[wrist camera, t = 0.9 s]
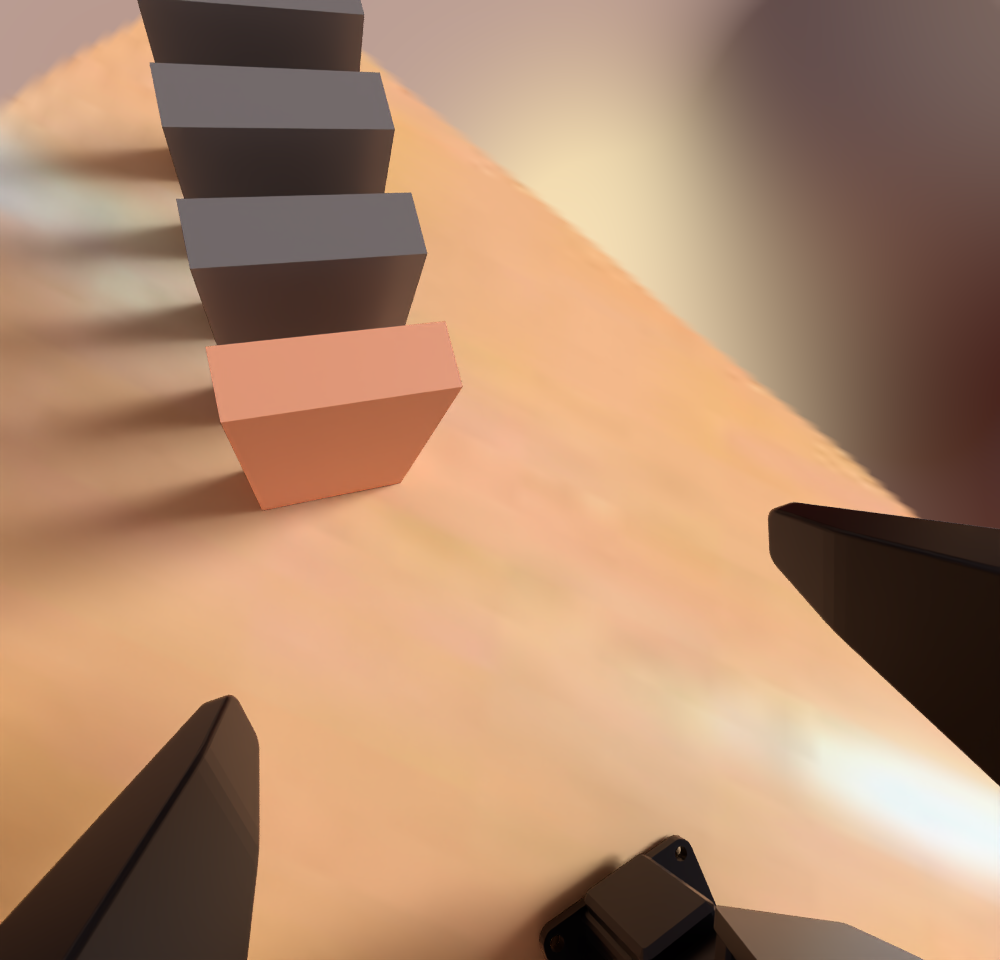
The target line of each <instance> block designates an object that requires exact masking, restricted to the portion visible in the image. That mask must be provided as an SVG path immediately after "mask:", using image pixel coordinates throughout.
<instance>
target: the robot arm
mask: <svg viewBox="0 0 1000 960" xmlns="http://www.w3.org/2000/svg"><path fill="white" fill-rule="evenodd" d="M768 531H769V551H770V555H771V558H772V560H773V562H774V564H775V565H776V566H777V568H778V569H779V570H780V571H781V572H782V573H783V574H784V575H785V577H786V578H787V579H788V580H789V581H790V582H791V583H792V585H793V586H794V587H795V588H796V589H797V590H798V591H799V593H800V594H801V595H802V596H803V597H804V598H805V599H806V601H807V602H808V603H809V604H810V605H811V606H812V607H813V609H814V610H815V611H816V612H817V613H818V614H819V615H820V617H821V618H822V619H823V620H824V621H825V622H826V623H827V624H828V625H829V626H830V627H831V628H832V630H833V631H834V632H835V633H836V634H837V635H838V636H840V637H841V638H842V639H843V640H844V641H845V642H846V643H847V644H848V645H849V646H850V647H851V648H852V649H853V650H854V651H855V652H856V653H857V654H859V655H860V656H861V657H862V658H863V659H864V660H865V661H866V662H867V663H868V664H869V665H870V666H871V667H872V668H873V669H875V670H876V671H877V672H878V673H879V674H880V675H881V676H882V677H883V678H884V679H885V680H886V681H887V682H888V683H890V684H891V685H892V686H893V687H894V688H895V689H896V690H897V691H898V692H899V693H900V694H901V695H902V696H903V697H905V698H906V699H907V700H908V701H909V702H910V703H911V704H912V705H913V706H914V707H915V708H916V709H917V710H918V711H920V712H921V713H922V714H923V715H924V716H925V717H926V718H927V719H928V720H929V721H930V722H931V723H932V724H933V725H935V726H936V727H937V728H938V729H939V730H940V731H941V732H942V733H943V734H944V735H945V736H946V737H947V738H948V739H950V740H951V741H952V742H953V743H954V744H955V745H956V746H957V747H958V748H959V749H960V750H961V751H962V752H963V753H965V754H966V755H967V756H968V757H969V758H970V759H971V760H972V761H973V762H974V763H975V764H976V765H977V766H978V767H980V768H981V769H982V770H983V771H984V772H985V773H986V774H987V775H988V776H989V777H990V778H991V779H992V780H993V781H994V782H996V783H997V784H998V785H999V786H1000V529H995V528H988V527H980V526H972V525H964V524H957V523H949V522H941V521H934V520H926V519H919V518H911V517H903V516H896V515H888V514H880V513H873V512H865V511H857V510H850V509H842V508H834V507H827V506H819V505H811V504H804V503H796V502H793V503H788V504H785V505H783V506H780V507H777V508H774V509H772V510H771V511H770V513H769V515H768ZM679 846H680V848H681V852H680V854H679V856H678V857H676V856H675V852H676V849H677V848H678V847H679ZM258 855H259V743H258V739H257V736H256V733H255V731H254V729H253V727H252V725H251V723H250V722H249V720H248V718H247V716H246V714H245V712H244V710H243V708H242V707H241V705H240V703H239V701H238V700H237V699H236V698H235V697H234V696H232V695H226V696H223V697H220V698H218V699H215V700H212V701H209V702H206V703H204V704H203V705H202V706H201V707H200V708H199V709H198V710H197V711H196V712H195V713H194V714H193V715H192V716H191V717H190V719H189V720H188V721H187V722H186V723H185V724H184V725H183V726H182V727H181V728H180V729H179V730H178V732H177V733H176V734H175V735H174V736H173V737H172V738H171V739H170V740H169V741H168V742H167V744H166V745H165V746H164V747H163V748H162V749H161V750H160V751H159V752H158V753H157V754H156V756H155V757H154V758H153V759H152V760H151V761H150V762H149V763H148V764H147V765H146V766H145V767H144V769H143V770H142V771H141V772H140V773H139V774H138V775H137V776H136V777H135V778H134V779H133V781H132V782H131V783H130V784H129V785H128V786H127V787H126V788H125V789H124V790H123V791H122V792H121V794H120V795H119V796H118V797H117V798H116V799H115V800H114V801H113V802H112V803H111V804H110V806H109V807H108V808H107V809H106V810H105V811H104V812H103V813H102V814H101V815H100V816H99V817H98V819H97V820H96V821H95V822H94V823H93V824H92V825H91V826H90V827H89V828H88V829H87V831H86V832H85V833H84V834H83V835H82V836H81V837H80V838H79V839H78V840H77V841H76V843H75V844H74V845H73V846H72V847H71V848H70V849H69V850H68V851H67V852H66V853H65V854H64V856H63V857H62V858H61V859H60V860H59V861H58V862H57V863H56V864H55V865H54V866H53V868H52V869H51V870H50V871H49V872H48V873H47V874H46V875H45V876H44V877H43V878H42V879H41V881H40V882H39V883H38V884H37V885H36V886H35V887H34V888H33V889H32V890H31V891H30V893H29V894H28V895H27V896H26V897H25V898H24V899H23V900H22V901H21V902H20V903H19V905H18V906H17V907H16V908H15V909H14V910H13V911H12V912H11V913H10V914H9V915H8V916H7V918H6V919H5V920H4V921H3V922H2V923H1V924H0V960H247V957H248V948H249V939H250V930H251V921H252V912H253V903H254V894H255V885H256V876H257V867H258ZM556 935H559V936H560V938H559V942H558V943H557V944H556V945H555V946H550V943H551V939H552V938H553V937H554V936H556ZM539 941H540V946H541V949H542V952H543V954H544V957H545V959H546V960H923V959H921V958H919V957H917V956H915V955H913V954H911V953H909V952H907V951H904V950H902V949H900V948H898V947H896V946H894V945H891V944H889V943H887V942H885V941H883V940H881V939H879V938H876V937H874V936H872V935H870V934H868V933H866V932H863V931H861V930H859V929H857V928H855V927H853V926H850V925H848V924H845V923H841V922H834V921H826V920H819V919H812V918H805V917H798V916H791V915H783V914H776V913H769V912H762V911H755V910H748V909H740V908H733V907H726V906H716V904H715V901H714V899H713V897H712V894H711V892H710V889H709V887H708V885H707V882H706V880H705V878H704V875H703V873H702V871H701V868H700V866H699V863H698V861H697V859H696V856H695V854H694V852H693V849H692V847H691V845H690V844H689V842H688V841H686V840H685V839H683V838H681V837H680V836H677V835H673V836H670V837H669V838H667V839H666V840H664V841H663V842H662V843H660V844H659V845H657V846H656V847H655V848H653V849H652V850H650V851H649V852H647V853H646V854H645V855H643V854H639V855H637V856H636V857H635V858H633V859H632V860H630V861H629V862H627V863H626V864H625V865H623V866H622V867H620V868H619V869H617V870H616V871H615V872H613V873H612V874H610V875H609V876H607V877H606V878H605V879H603V880H602V881H600V882H599V883H598V884H596V885H595V886H593V887H592V888H590V889H589V890H588V891H587V893H586V895H585V897H584V898H582V899H581V900H579V901H578V902H577V903H575V904H574V905H572V906H571V907H570V908H568V909H567V910H565V911H564V912H562V913H561V914H560V915H558V916H557V917H555V918H554V919H553V920H551V921H550V922H548V923H547V924H546V925H545V926H544V927H543V929H542V931H541V933H540V939H539Z"/></svg>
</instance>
